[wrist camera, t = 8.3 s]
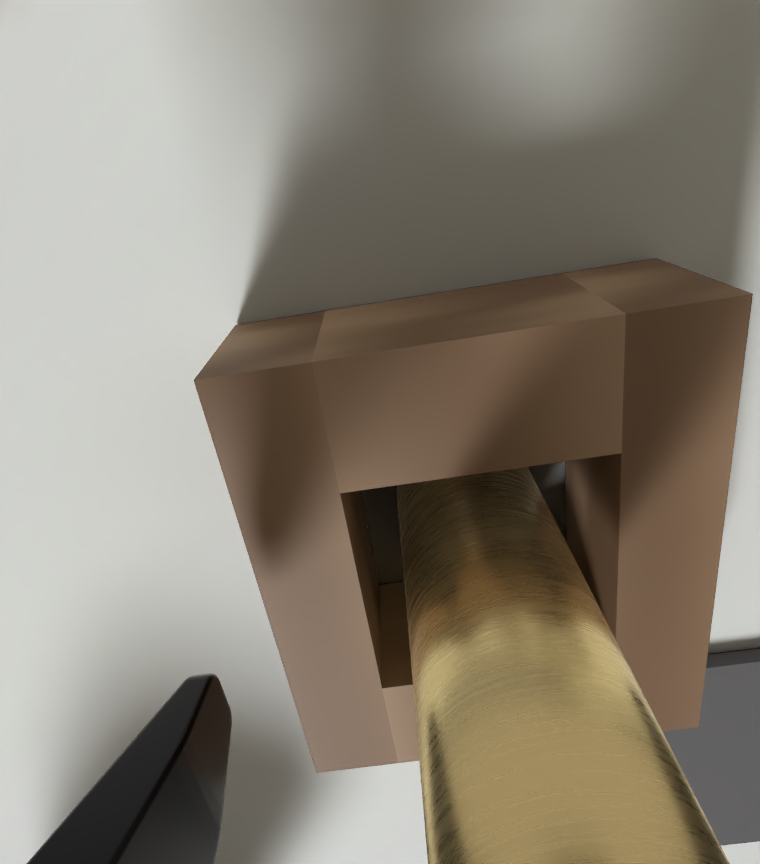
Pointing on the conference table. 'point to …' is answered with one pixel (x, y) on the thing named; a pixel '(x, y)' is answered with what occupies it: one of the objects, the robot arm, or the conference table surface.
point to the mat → (726, 747)
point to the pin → (528, 694)
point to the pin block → (483, 468)
